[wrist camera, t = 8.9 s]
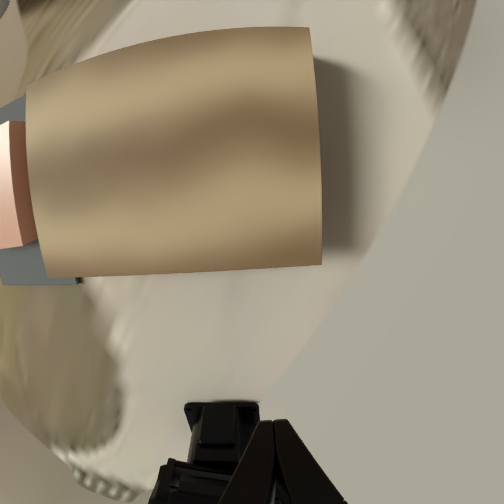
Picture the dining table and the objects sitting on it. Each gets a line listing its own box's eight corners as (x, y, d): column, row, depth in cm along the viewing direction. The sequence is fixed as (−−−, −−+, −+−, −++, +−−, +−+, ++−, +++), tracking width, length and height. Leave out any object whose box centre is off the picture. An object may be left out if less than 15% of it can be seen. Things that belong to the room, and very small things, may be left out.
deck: (307, 241, 18) (321, 264, 14) (78, 256, 18) (47, 277, 15) (297, 52, 14) (309, 27, 11) (61, 93, 15) (26, 85, 11)
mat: (79, 282, 19) (76, 284, 19) (5, 283, 19) (3, 284, 19) (56, 82, 14) (53, 82, 14) (-17, 120, 14) (-20, 120, 14)
